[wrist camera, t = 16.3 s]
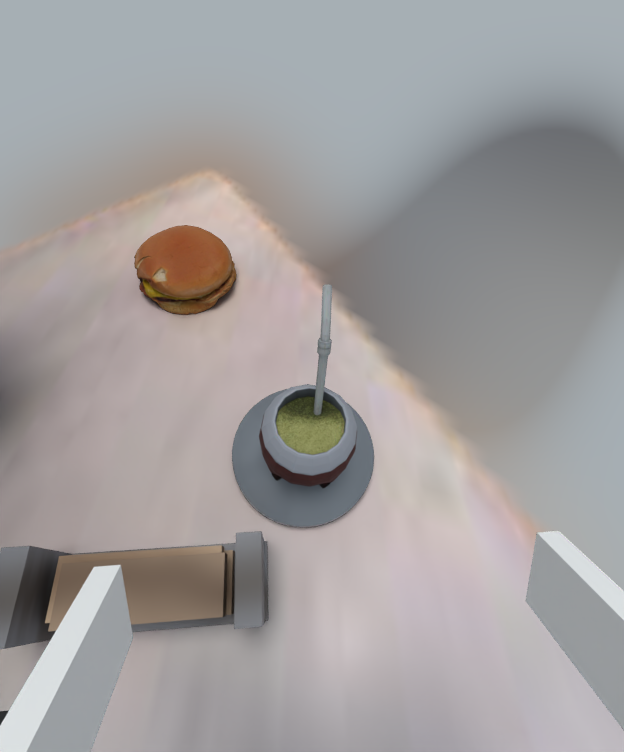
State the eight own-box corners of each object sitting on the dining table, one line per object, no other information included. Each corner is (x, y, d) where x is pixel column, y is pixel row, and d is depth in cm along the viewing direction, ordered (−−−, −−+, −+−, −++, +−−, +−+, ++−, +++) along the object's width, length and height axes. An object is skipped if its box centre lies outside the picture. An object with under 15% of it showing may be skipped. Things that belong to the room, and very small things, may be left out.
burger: (242, 256, 46) (239, 223, 42) (225, 321, 41) (219, 291, 37) (157, 245, 46) (145, 211, 41) (130, 309, 41) (114, 278, 37)
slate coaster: (203, 467, 34) (201, 463, 33) (290, 370, 39) (290, 364, 38) (318, 560, 31) (320, 559, 30) (395, 442, 36) (399, 438, 35)
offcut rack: (268, 619, 29) (265, 626, 23) (32, 639, 27) (-32, 651, 22) (266, 542, 31) (264, 531, 26) (51, 556, 30) (-3, 547, 24)
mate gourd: (294, 517, 31) (305, 461, 18) (240, 438, 34) (216, 340, 21) (366, 462, 34) (422, 378, 20) (311, 393, 36) (328, 280, 23)
